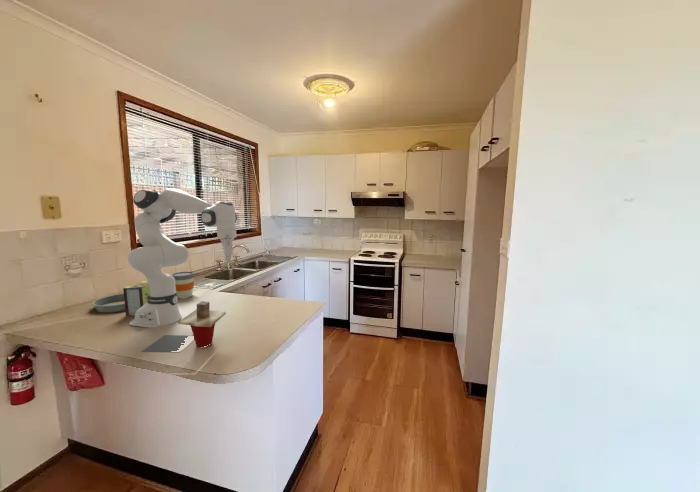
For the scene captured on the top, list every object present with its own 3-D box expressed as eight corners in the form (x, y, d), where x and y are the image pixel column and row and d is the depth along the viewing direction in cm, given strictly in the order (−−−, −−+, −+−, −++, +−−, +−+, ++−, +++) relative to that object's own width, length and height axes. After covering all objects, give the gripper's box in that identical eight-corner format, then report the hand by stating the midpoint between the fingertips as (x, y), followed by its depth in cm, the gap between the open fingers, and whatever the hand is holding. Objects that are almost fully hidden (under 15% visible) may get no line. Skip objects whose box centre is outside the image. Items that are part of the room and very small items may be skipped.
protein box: (163, 306, 169) (161, 280, 166) (144, 316, 153) (141, 288, 151) (146, 305, 169) (143, 280, 167) (125, 315, 154) (122, 287, 151)
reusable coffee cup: (179, 300, 179) (177, 277, 177) (169, 296, 186) (167, 274, 183) (199, 295, 189) (197, 273, 187) (189, 292, 196) (187, 270, 194)
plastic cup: (202, 354, 115) (201, 325, 113) (184, 348, 119) (182, 321, 117) (224, 342, 125) (222, 316, 123) (206, 338, 129) (204, 312, 127)
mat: (140, 352, 116) (140, 351, 116) (164, 336, 130) (164, 335, 130) (180, 353, 116) (180, 352, 116) (199, 336, 130) (199, 335, 130)
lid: (178, 324, 114) (178, 307, 113) (196, 311, 127) (196, 296, 126) (210, 327, 114) (210, 310, 113) (225, 314, 127) (225, 298, 126)
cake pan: (153, 304, 173) (153, 296, 172) (102, 317, 152) (101, 308, 151) (135, 296, 186) (135, 290, 185) (86, 307, 165) (85, 300, 164)
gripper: (235, 235, 136) (236, 264, 137) (232, 232, 154) (233, 257, 156) (220, 236, 133) (222, 265, 135) (219, 232, 151) (220, 258, 153)
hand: (228, 261), depth 145 cm, fingers open, 8 cm apart
